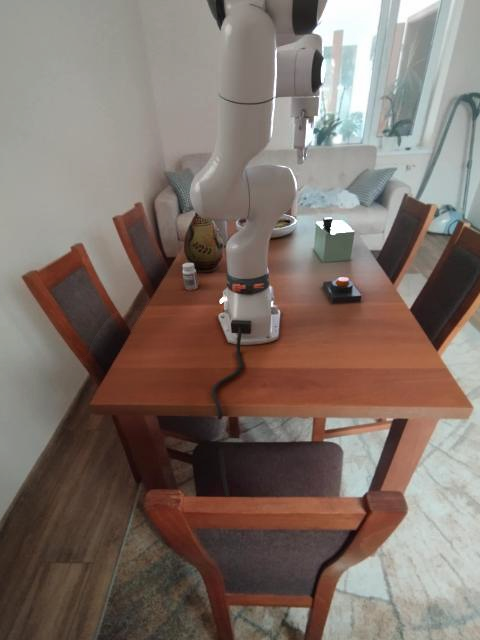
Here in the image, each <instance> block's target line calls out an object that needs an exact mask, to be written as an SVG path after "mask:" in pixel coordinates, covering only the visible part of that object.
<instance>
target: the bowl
mask: <svg viewBox="0 0 480 640" xmlns="http://www.w3.org/2000/svg"><path fill="white" fill-rule="evenodd" d="M246 220H247V218H243V219H236V222H235V227H236V230H237V232H238V231H239V230H241V229H242V228H243V226H244V225H245V223H246ZM296 226H297V219H296V218H295V217H294V216H291V215H289V214H284V215H283V216H282V217H281V218H280V219H279V221H278V222H277V224H276V225H275V227H274V229H273V231H272V234H271V237H270V239H277V238H282V237H285V236H287V235H290V234H291V233H292V232H293V231H294V230H295V229H296Z"/></svg>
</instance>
